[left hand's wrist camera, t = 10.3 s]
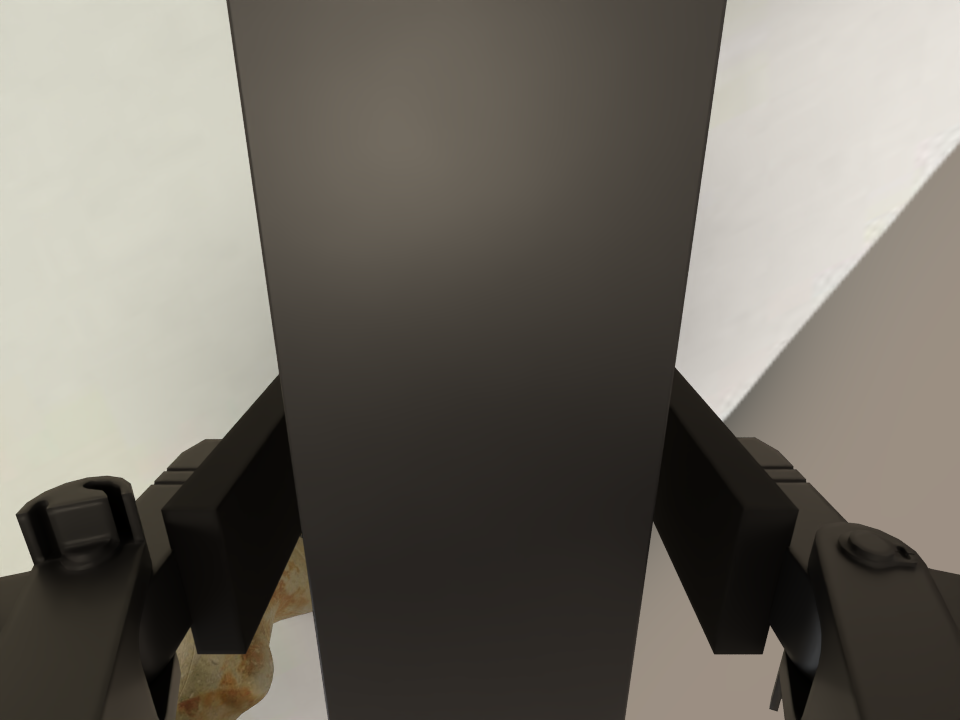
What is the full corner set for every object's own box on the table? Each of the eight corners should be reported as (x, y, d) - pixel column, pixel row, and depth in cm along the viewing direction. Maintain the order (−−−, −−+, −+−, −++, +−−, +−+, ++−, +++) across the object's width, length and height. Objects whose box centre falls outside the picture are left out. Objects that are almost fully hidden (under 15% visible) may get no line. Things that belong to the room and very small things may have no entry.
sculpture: (263, 602, 33) (104, 937, 19) (201, 507, 31) (-33, 813, 17) (351, 576, 32) (254, 905, 18) (296, 477, 30) (135, 770, 16)
